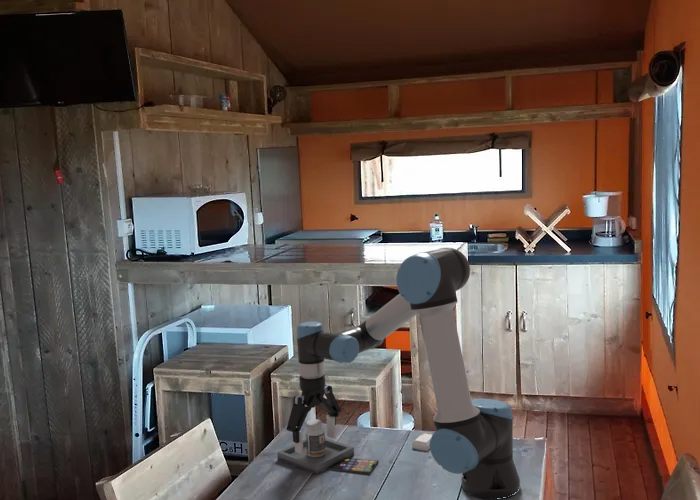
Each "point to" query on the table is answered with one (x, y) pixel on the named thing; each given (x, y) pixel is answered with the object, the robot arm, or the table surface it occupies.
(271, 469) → the table surface
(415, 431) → the table surface
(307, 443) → the pill bottle
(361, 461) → the smartphone
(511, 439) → the robot arm
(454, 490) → the table surface
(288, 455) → the slate tray
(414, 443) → the soap bar
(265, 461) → the table surface
